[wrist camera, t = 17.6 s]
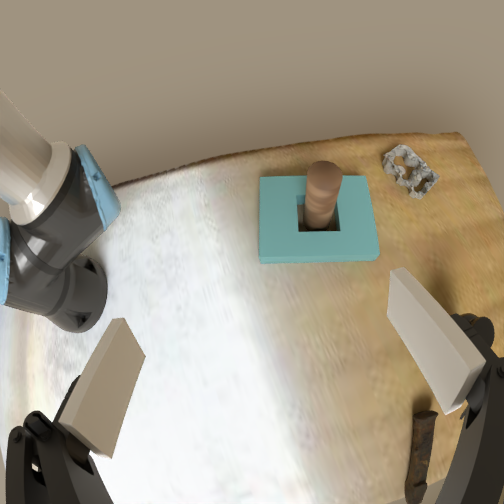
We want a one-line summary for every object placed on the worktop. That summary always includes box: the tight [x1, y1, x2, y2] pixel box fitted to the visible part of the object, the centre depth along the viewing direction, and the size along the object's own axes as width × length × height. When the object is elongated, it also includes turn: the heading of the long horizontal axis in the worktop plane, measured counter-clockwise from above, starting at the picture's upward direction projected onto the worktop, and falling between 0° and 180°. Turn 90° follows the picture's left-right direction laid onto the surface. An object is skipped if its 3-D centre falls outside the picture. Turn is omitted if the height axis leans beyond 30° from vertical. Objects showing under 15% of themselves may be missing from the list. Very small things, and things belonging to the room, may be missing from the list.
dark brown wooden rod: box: [405, 411, 438, 504], centre depth 26 cm, size 19×4×5 cm, turn 178°
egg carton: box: [382, 145, 440, 199], centre depth 43 cm, size 11×8×4 cm
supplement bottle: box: [460, 313, 495, 347], centre depth 29 cm, size 7×7×12 cm
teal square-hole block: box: [259, 176, 380, 264], centre depth 42 cm, size 18×14×3 cm
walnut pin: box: [303, 161, 343, 232], centre depth 38 cm, size 4×4×13 cm
